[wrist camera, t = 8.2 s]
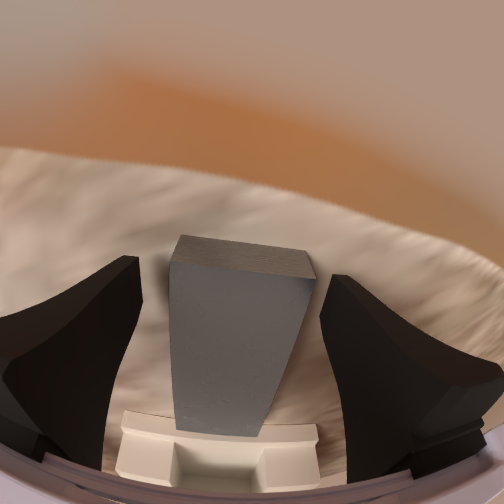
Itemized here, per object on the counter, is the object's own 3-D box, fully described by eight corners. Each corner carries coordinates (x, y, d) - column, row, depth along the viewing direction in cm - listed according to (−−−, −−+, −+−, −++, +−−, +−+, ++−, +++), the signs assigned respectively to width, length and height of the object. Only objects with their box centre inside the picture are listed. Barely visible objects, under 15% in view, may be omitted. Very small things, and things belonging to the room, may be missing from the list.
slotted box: (281, 475, 25) (285, 519, 19) (151, 466, 23) (145, 510, 18) (315, 423, 19) (327, 491, 13) (125, 410, 17) (108, 477, 12)
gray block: (180, 398, 17) (175, 429, 15) (182, 230, 12) (169, 261, 9) (255, 405, 18) (257, 437, 15) (303, 246, 12) (316, 279, 10)
